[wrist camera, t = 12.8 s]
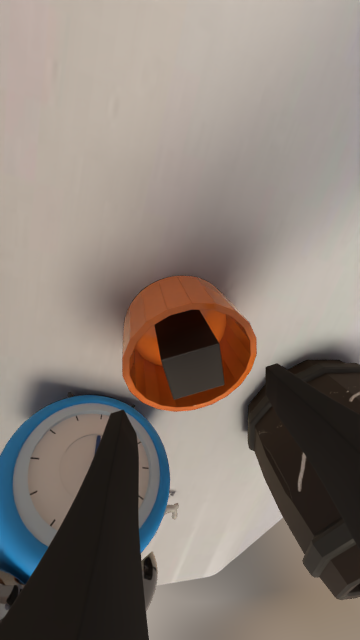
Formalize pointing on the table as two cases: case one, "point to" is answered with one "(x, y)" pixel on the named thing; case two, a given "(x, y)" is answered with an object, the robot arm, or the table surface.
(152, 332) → the cup
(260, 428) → the wooden barrel
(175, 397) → the block
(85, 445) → the alarm clock
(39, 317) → the table surface
